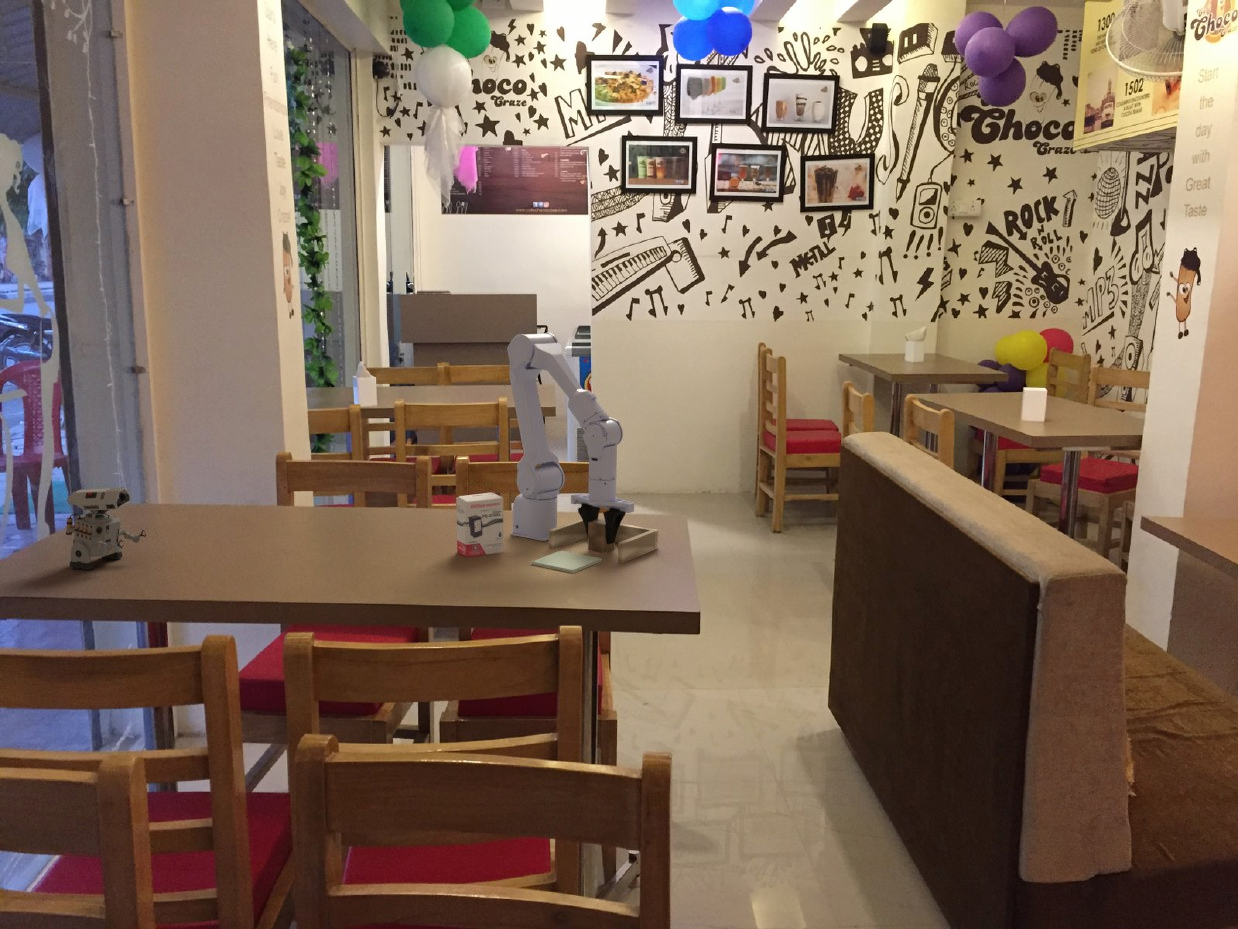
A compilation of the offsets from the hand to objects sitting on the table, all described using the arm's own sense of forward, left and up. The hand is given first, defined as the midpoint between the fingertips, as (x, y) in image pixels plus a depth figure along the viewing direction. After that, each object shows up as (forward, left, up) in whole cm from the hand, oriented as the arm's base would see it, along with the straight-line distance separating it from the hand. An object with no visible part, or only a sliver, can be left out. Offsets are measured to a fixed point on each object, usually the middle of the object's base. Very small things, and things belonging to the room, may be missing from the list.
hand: (601, 541), depth 210 cm
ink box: (-19, -17, -2) cm, 25 cm away
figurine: (-71, -66, -2) cm, 97 cm away
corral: (0, 0, -2) cm, 2 cm away
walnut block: (0, 0, -2) cm, 2 cm away
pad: (0, -13, -2) cm, 13 cm away
